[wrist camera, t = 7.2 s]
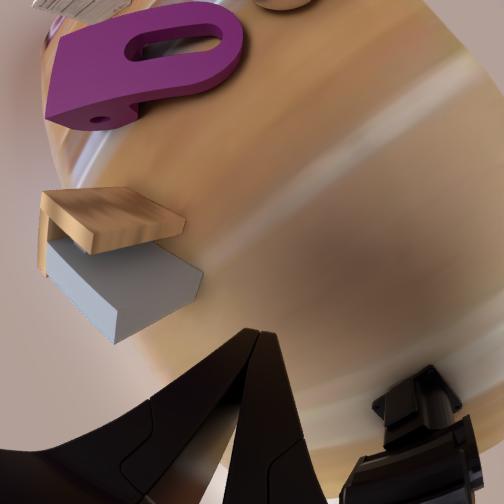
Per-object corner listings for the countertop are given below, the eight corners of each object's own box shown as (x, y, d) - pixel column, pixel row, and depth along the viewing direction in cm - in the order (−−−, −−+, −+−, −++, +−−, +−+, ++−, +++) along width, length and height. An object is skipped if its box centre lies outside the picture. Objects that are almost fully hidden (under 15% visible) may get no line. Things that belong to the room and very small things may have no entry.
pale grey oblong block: (204, 268, 25) (118, 304, 16) (191, 310, 26) (112, 356, 17) (130, 222, 28) (47, 236, 19) (122, 261, 29) (45, 284, 20)
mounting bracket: (240, 41, 25) (93, 65, 25) (241, -3, 17) (60, 37, 16) (243, 113, 27) (86, 134, 26) (244, 81, 19) (44, 118, 18)
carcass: (186, 218, 25) (93, 233, 16) (167, 287, 27) (85, 322, 18) (125, 186, 27) (42, 191, 18) (112, 248, 29) (37, 266, 20)
